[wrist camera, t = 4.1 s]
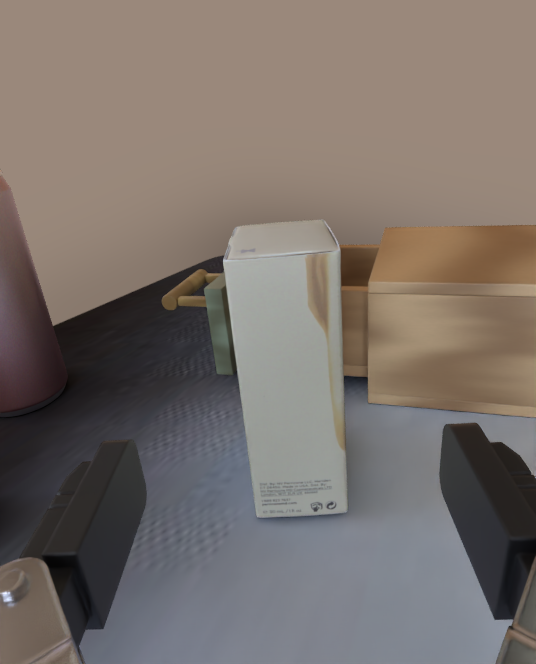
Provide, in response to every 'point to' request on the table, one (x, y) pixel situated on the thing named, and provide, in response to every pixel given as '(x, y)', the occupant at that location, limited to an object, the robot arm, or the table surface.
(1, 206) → the beverage can
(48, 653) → the robot arm
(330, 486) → the cosmetic box
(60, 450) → the table surface
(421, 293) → the cabinet
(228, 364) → the drawer
